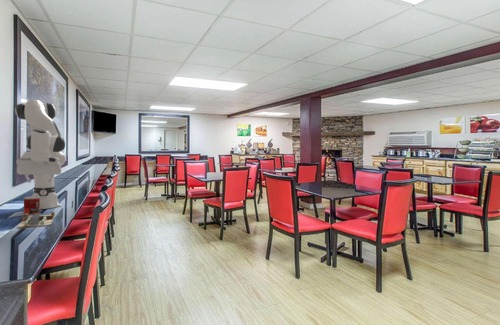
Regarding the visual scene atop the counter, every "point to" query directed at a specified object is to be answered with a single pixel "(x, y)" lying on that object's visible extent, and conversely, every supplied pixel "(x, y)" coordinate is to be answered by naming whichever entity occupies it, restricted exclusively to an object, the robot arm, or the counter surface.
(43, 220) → the lock board
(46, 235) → the counter surface
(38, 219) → the bar
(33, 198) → the canned food
